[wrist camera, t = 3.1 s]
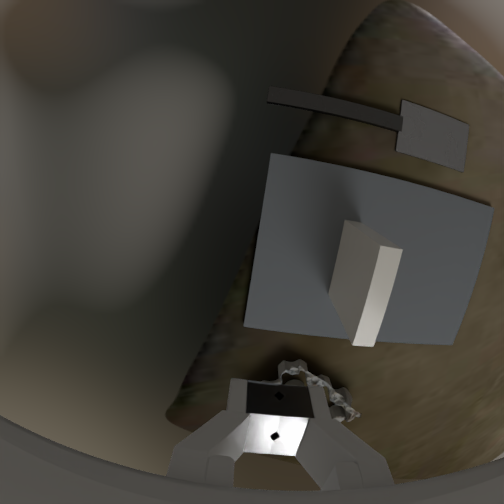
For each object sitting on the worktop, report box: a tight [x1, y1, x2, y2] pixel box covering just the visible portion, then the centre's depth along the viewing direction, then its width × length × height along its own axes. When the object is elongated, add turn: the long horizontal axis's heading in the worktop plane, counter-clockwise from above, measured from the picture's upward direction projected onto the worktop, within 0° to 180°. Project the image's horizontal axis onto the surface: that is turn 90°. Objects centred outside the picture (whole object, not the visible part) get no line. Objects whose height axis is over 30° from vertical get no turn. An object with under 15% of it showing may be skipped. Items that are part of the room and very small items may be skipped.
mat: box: [244, 153, 494, 345], centre depth 28 cm, size 24×16×1 cm, turn 82°
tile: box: [328, 220, 403, 347], centre depth 24 cm, size 2×7×9 cm, turn 171°
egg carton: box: [261, 359, 361, 422], centre depth 31 cm, size 11×8×4 cm
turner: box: [267, 86, 469, 172], centre depth 25 cm, size 20×5×1 cm, turn 81°
